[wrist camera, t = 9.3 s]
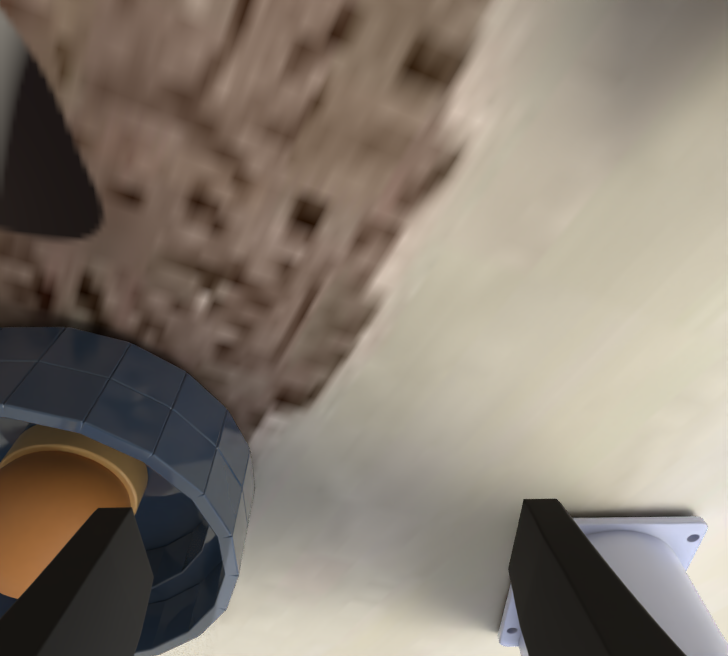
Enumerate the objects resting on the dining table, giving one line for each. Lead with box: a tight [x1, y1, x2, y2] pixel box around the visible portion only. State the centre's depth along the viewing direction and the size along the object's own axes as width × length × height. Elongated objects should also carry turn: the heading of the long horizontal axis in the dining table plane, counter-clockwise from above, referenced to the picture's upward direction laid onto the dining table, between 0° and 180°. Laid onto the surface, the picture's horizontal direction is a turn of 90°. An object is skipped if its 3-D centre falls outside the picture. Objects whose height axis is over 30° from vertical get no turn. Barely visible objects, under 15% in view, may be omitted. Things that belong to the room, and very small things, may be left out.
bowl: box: [0, 327, 255, 656], centre depth 20 cm, size 13×13×4 cm
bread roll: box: [0, 425, 148, 599], centre depth 19 cm, size 5×5×5 cm
